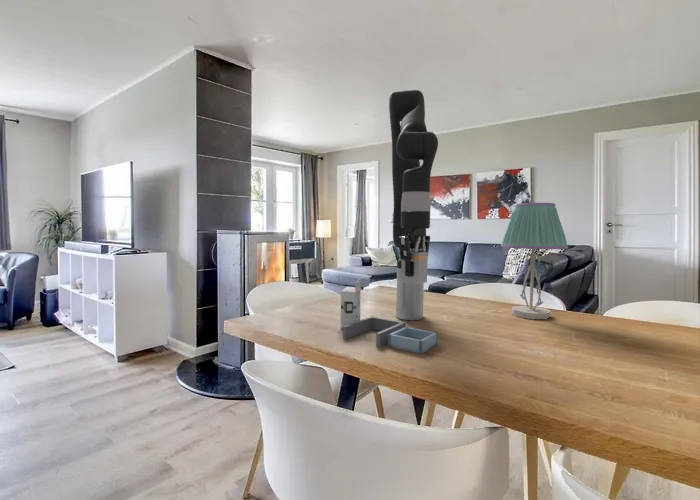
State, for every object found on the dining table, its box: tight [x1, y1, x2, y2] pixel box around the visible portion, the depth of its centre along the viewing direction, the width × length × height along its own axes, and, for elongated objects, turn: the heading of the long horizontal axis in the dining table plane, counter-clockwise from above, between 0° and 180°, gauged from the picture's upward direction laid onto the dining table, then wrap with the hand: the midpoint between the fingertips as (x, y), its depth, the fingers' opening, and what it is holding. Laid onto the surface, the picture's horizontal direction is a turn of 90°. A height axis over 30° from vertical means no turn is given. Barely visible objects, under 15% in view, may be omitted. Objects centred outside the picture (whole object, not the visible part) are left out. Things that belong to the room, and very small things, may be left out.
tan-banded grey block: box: [401, 252, 429, 284], centre depth 99 cm, size 5×5×8 cm
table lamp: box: [500, 202, 569, 320], centre depth 134 cm, size 22×22×40 cm
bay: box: [342, 315, 407, 348], centre depth 108 cm, size 14×12×4 cm
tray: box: [387, 326, 438, 355], centre depth 100 cm, size 10×10×3 cm
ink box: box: [340, 278, 362, 329], centre depth 119 cm, size 9×5×15 cm, turn 168°
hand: (414, 274), depth 99 cm, fingers closed on tan-banded grey block, 5 cm apart
